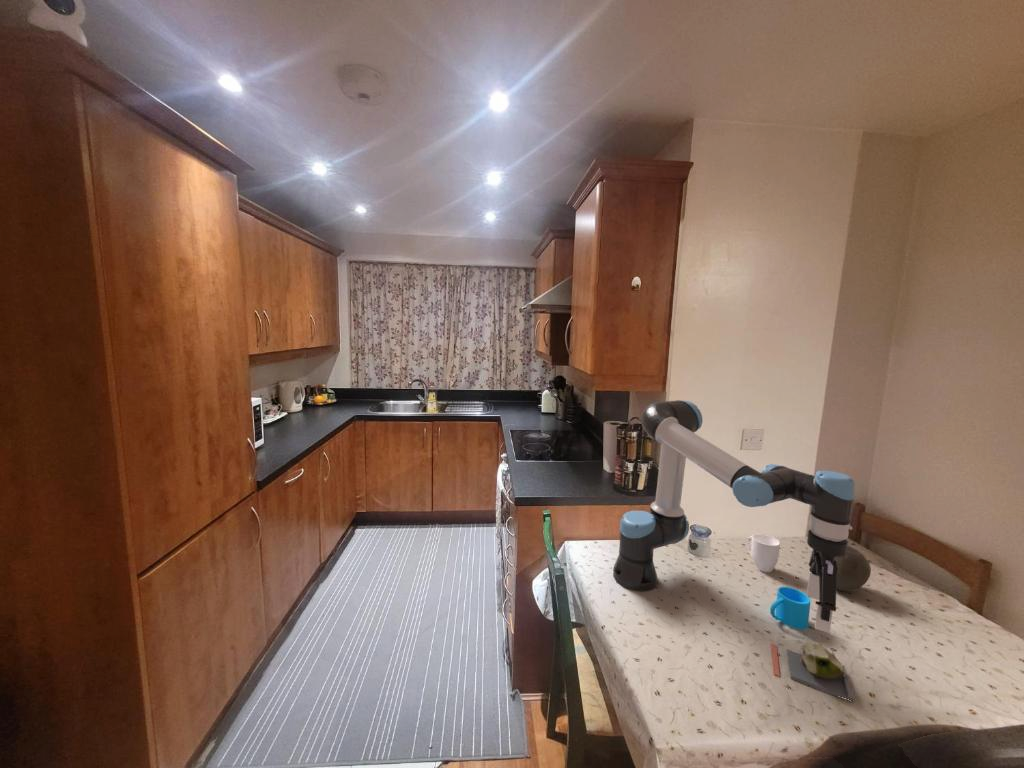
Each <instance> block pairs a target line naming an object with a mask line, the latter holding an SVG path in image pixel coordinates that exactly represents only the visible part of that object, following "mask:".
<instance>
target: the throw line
mask: <svg viewBox="0 0 1024 768" xmlns="http://www.w3.org/2000/svg"><path fill="white" fill-rule="evenodd" d="M770 648H771V658H772V669H773V675H774V676H775V677H778V678H780V676H781V675H780V667H779V657H778V649H777V644H776V643H772V642H771V643H770Z"/></svg>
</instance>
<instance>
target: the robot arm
mask: <svg viewBox="0 0 1024 768" xmlns="http://www.w3.org/2000/svg"><path fill="white" fill-rule="evenodd" d="M640 422H641V426H642V428H643V430H644V431H645V433H646V434H647V435H648V436H649V437H650V438H652V439H653V440H654V441H656V442H657V443H659V444H661V445H660V447H661V448H660V455H659V465H658V474H657V485H656V490H655V491H656V492H655V501H653V502H651V503H650V505H649V506H650V508H649V511H645V510H630V511H627V512H625V513H624V514H622V516H621V518H620V525H619V550H618V556H617V558H616V560H615V563H614V565H613V568H612V570H613V573H612V575H613V578H614V580H615V581H616V582H617V583H618V584H619V585H621V586H622V587H624V588H627V589H629V590H634V591H639V592H644V591H645V592H647V591H652V590H653V589H655V588H656V586H657V585H658V575H657V571H656V567H655V563H654V550H655V549H659V548H661V547H665V546H666V547H667V546H669V545H675V544H677V543H680V542H681V541H684V540H685V539H686V537H688V535H689V532H690V523H689V521H688V517H687V516H686V514H685V511H684V509H683V507H681V503H682V493H683V485H684V478H685V469H686V461H687V459H688V460H689V461H691V462H692V463H693V464H695V465H697V466H698V467H700V468H701V469H703V470H704V471H705V472H708V473H709V474H710V475H711V476H713V477H715V478H716V479H717V480H719V481H721V482H722V483H723V484H725V485H726V486H728V487H729V488H731V489H732V494H733V496H735V499H736V500H737V502H739V503H740V504H741V505H742V506H745V507H749V508H759V507H765V506H767V505H770V504H772V503H776V502H777V503H778V502H781V501H785V500H789V499H791V500H795V501H798V502H800V503H802V504H806V505H809V506H810V513H809V514H810V515H809V523H808V532H807V538H806V539H807V540H806V543H807V545H808V546H809V547H810V548H811V549H812V551H811V555H810V557H809V558H810V559H809V562H808V567H809V568H808V569H809V575H808V582H807V590H806V595H807V597H809V598H810V599H814V600H816V601H815V605H817V607H816V612H815V620H814V629H816V630H819V631H822V632H824V633H828V634H830V633H831V625H832V619H833V612H837V589H836V576H837V570H838V568H837V566H836V561H834V557H837V556H839V557H841V556H844V555H845V554H846V550H847V546H848V542H849V541H848V540H847V539H848V538H849V532H850V531H851V530H852V531H853V526H852V525H851V519H852V514H853V513H852V512H853V508H854V507H853V506H854V501H855V497H856V496H855V490H856V488H855V486H856V482H855V480H854V479H853V478H852V477H851V476H850V475H847V474H845V473H842V472H838V471H832V470H825V469H823V470H818V471H816V473H815V475H813V474H810V473H805V472H803V471H799V470H796V469H793V468H789V467H787V466H785V465H779V464H773V463H769V464H766V466H765V467H764V468H762V470H761V471H758V470H756V469H754V468H753V467H751V466H749V465H747V464H746V463H744V462H743V461H742V460H740V459H738V458H736V457H734V456H733V455H732V454H729V453H728V452H727V451H724V450H723V449H721V448H720V447H719V446H717V445H715V444H713V443H712V442H710V441H708V440H706V439H704V438H703V437H701V436H700V435H698V434H697V433H696V432H697V431H698V430H700V429H701V427H702V424H703V415H702V412H701V410H700V409H699V408H698V406H697V405H696V404H695V403H694V402H692V401H689V400H679V399H678V400H667V401H656V402H653V403H650V404H648V405H646V407H645V408H644V409H643V411H642V413H641V417H640Z"/></svg>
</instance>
